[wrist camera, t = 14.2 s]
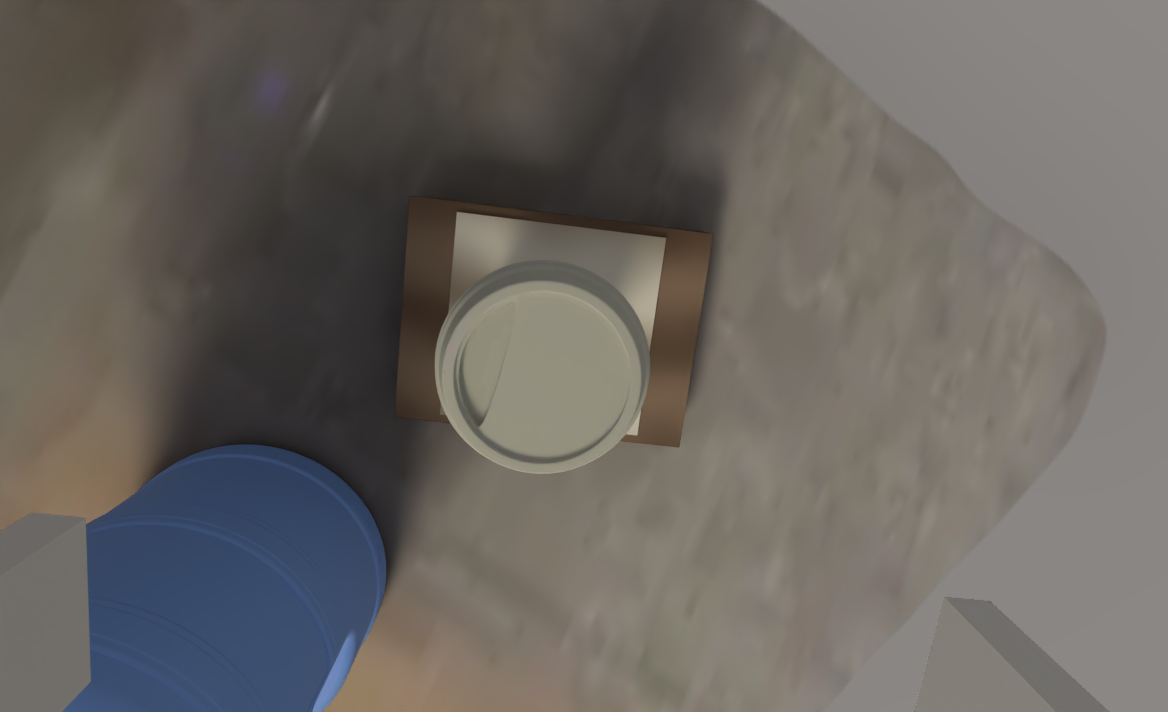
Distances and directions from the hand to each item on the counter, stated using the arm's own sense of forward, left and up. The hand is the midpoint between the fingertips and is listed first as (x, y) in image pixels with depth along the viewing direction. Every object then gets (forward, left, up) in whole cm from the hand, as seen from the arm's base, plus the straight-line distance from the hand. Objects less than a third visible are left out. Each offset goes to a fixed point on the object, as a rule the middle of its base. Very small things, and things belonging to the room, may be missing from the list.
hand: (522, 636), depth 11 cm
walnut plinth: (0, 0, -31) cm, 31 cm away
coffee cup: (0, 0, -28) cm, 28 cm away
